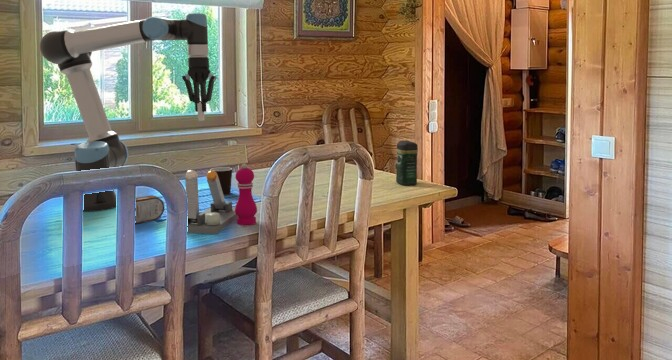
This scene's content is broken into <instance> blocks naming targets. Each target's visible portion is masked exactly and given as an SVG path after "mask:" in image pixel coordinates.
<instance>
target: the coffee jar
mask: <svg viewBox="0 0 672 360" xmlns="http://www.w3.org/2000/svg"><path fill="white" fill-rule="evenodd" d="M418 147H419V146H418V144H417V143H416V142H414V141H411V140H399V141H398V142H397V143H396V173H395V174H396V175H395V176H396V179H395V181H396V183H397V184H399V185H402V186H414V185H417V183H418Z"/></svg>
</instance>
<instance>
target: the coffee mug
mask: <svg viewBox="0 0 672 360" xmlns="http://www.w3.org/2000/svg"><path fill="white" fill-rule="evenodd" d="M209 171H215V172H216V173H217V175H218V178H219V181H220V185H221V188H222V191H223V195H224V196H227V195H228V196H229V195H230V194H231V193H232V192H231V191H232V179H233V178H232V177H233V168H232V167H229V166H228V167H227V166H220V167H219V166H218V167H212V168H210V170H209Z"/></svg>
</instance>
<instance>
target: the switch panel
mask: <svg viewBox="0 0 672 360" xmlns="http://www.w3.org/2000/svg"><path fill="white" fill-rule="evenodd" d="M207 213H219V214H220V224H218V225H206V214H207ZM237 218H238V216H237V215H236V213H235V207H234V206H233V201H227V202H226V204H225V211H219V210H216V208H215V204H214V201H213V202H211V203H210V207H208V208H206V209H205V210H204V211H202V212H201V213H200V212H199V215H198V216H197V223H188V226H187V227H188V233H190V234H205V235H206V234H209V235H212V234H213V235H218V234H219V233H220V232H221V231H223V230H224V229H225V228H226V227H228V226H229V225H230V224H232V223H233V222H235V221H237Z"/></svg>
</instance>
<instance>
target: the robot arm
mask: <svg viewBox="0 0 672 360" xmlns="http://www.w3.org/2000/svg"><path fill="white" fill-rule="evenodd" d="M207 20H208V19H207V15H206V14H204V13H199V12H191V13H190V12H188V13H185V18H182V19H181V18H180V19H177V18H176V19H175V18H165V17H160V16H158V15H155V16H149V17H147V18H144V19H139V20H134V21H126V22H122V23H116V24H112V25H105V26H100V27H95V28H89V29H84V30H77V31H73V30H71V29H67V30H61V31H60V30H59V31H58V30H54V31H50V32H47V33H45V34H44V35H43V36H42V37H41V39H40V42H39V50H40V54H41V55H42V57H43V58H44V59H45V60H46V61H48V62H49V63H51V64H54V65H57V67H58V68H59V71H60V73H61V74H63V75H64V76H66V78H67V81H68V83H69V86H70V89H71V92H72V94H73V97H74V100H75V102H76V105H77V108H78V110H79V113H80V116H81V119H82V123H83V124H84V127H85V130H86V132H87V135H88V138H87V140H86V142H82V143H79V144H78V145H76V146H75V148H74V154H73V157H74V164H75V165H74V166H75V172H76V171H81V170H90V169H100V168H109V167H119V166H122V167H124V166H125V164H126V163H127V162H128V159H129V149H128V147H127V146H126V143H125V142H123V141H121V140H120V138H119V135H118V133H117V132H115V131H113V130H112V128H111V124H110V122H109V119H108V117H107V113H106V110H105V108H104V105H103V103H102V100H101V95H100V94H99V91H98V88H97V85H96V83H95V80H94V77H93V74H92V72H91V68H92V66H93V62H92V60H91V57H92V52H97V51H103V50H108V49H115V48H118V47H119V48H120V47H125V46H130V45H135V44H141V43H147V42H153V41H163V42H166V41H186V45H187V46H186V47H187V56H189V57H188V58H187V64H188V65H187V67H188V70H187V73H186V74H184V75H182V76H181V78H182V80H183V81H184V84H185V87H186V88H185V89H186V90H187V94H188V95H187V96H188V99H189V101H190V102H191V103H194V109H195V112H196V113H197V119H198V120H197V121H198V122H204V121H205V117H206V116H205V112H207V103H209V102H211V101H212V96H213V91H214V85H215V81H216V80H217V77H218V76H217V75H214V74H213V73H211V70H210V59H209V57H208V56H210V55H209V40H208V39H209V38H208V37H209V35H208V33H209V32H208V31H209V30H208V21H207ZM208 79H209V80H208ZM191 80H192V83H191ZM207 80H208V84H207ZM192 85H193V86H192ZM116 196H117V194H116V191H115V189H114V190H113V191H105V192H99V193H92V194H85V195H84V211H83V212H99V211H106V210H111V209H115V208H116V207H117V206H116Z"/></svg>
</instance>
